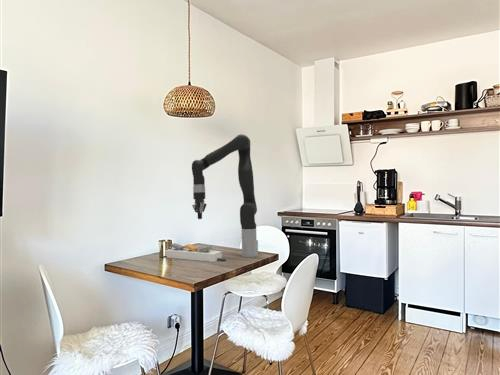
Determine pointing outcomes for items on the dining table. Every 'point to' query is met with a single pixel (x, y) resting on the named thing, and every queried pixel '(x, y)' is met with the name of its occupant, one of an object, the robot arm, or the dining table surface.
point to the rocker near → (205, 248)
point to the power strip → (194, 254)
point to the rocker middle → (191, 247)
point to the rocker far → (177, 246)
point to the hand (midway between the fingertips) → (199, 218)
